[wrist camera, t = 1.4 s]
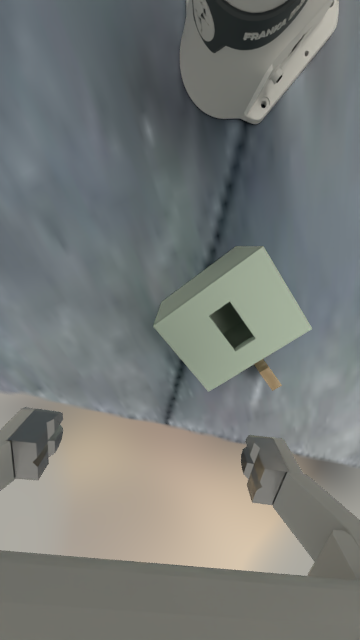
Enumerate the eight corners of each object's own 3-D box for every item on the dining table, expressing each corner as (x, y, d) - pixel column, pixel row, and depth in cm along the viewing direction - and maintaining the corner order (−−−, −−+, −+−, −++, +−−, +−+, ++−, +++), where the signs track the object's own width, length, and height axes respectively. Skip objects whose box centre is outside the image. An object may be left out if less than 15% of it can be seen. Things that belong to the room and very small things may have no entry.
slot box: (236, 246, 40) (263, 246, 27) (272, 303, 44) (312, 328, 31) (161, 302, 44) (153, 326, 31) (200, 351, 47) (208, 391, 34)
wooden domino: (254, 347, 47) (268, 367, 40) (266, 363, 48) (281, 385, 41) (247, 352, 48) (259, 372, 40) (258, 368, 49) (272, 390, 41)
